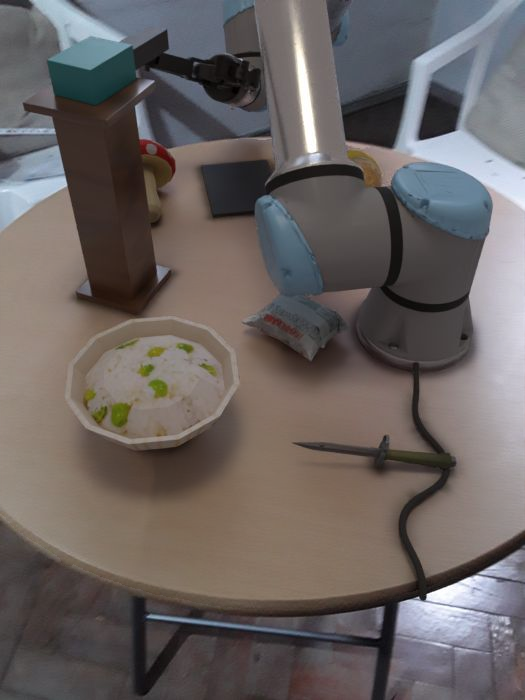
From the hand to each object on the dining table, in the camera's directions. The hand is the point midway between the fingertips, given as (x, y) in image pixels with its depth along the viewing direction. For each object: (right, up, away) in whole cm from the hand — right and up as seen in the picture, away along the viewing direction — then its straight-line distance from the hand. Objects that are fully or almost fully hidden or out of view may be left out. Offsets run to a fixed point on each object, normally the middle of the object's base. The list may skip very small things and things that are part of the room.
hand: (173, 57), depth 94 cm
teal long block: (-5, -7, -12) cm, 15 cm away
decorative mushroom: (-8, -16, +20) cm, 27 cm away
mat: (+9, -12, +24) cm, 28 cm away
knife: (+25, -54, -17) cm, 61 cm away
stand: (-8, -31, +5) cm, 32 cm away
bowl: (0, -50, -13) cm, 51 cm away
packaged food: (+17, -39, -2) cm, 42 cm away
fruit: (+26, -18, +19) cm, 37 cm away
